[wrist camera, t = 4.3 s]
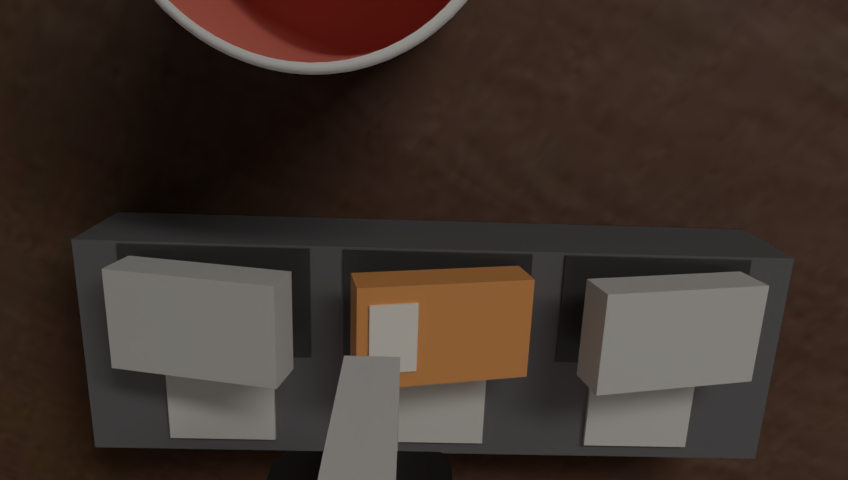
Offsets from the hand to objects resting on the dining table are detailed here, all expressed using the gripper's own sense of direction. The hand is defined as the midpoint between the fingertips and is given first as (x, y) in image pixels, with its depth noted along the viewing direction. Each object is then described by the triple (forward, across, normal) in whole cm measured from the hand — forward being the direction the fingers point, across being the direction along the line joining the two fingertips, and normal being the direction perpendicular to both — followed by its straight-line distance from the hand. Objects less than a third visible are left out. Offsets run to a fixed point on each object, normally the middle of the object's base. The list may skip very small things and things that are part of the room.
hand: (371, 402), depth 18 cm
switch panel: (+11, +2, -2) cm, 11 cm away
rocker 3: (+6, +10, 0) cm, 11 cm away
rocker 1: (+6, -6, 0) cm, 8 cm away
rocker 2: (+6, +2, 0) cm, 6 cm away
